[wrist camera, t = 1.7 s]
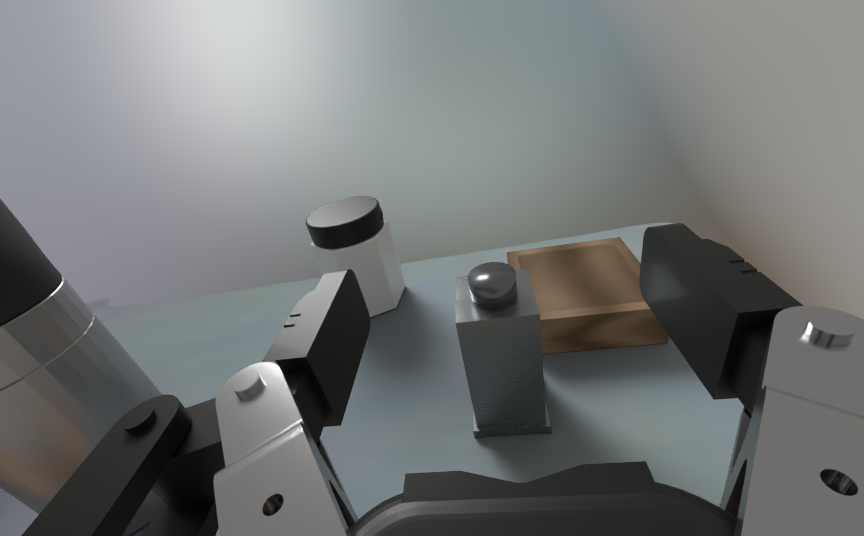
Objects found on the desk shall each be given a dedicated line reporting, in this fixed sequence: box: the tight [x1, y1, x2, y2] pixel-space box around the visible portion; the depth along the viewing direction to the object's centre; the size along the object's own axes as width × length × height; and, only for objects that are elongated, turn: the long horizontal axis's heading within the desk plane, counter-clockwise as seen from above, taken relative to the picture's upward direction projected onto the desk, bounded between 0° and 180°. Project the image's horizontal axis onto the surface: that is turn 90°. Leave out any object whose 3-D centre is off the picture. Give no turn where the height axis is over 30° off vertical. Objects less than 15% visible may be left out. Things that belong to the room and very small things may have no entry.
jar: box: [306, 196, 405, 317], centre depth 44 cm, size 9×8×12 cm
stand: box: [507, 237, 669, 354], centre depth 37 cm, size 12×12×4 cm
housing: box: [456, 262, 551, 438], centre depth 27 cm, size 6×6×12 cm
